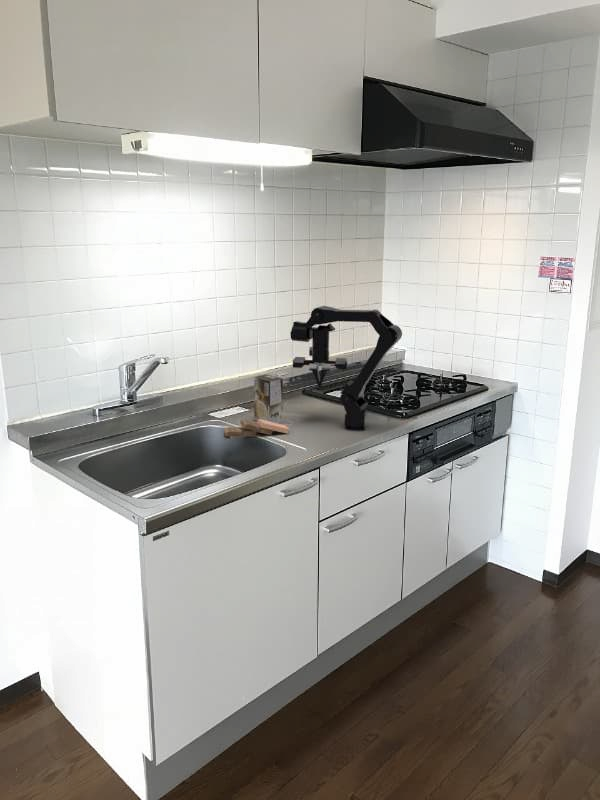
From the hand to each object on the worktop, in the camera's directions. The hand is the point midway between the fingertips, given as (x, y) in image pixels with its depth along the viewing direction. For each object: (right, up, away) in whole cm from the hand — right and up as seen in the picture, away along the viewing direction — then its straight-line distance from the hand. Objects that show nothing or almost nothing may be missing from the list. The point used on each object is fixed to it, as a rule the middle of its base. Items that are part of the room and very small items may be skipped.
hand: (319, 387), depth 231 cm
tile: (-11, -14, -8) cm, 20 cm away
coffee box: (-18, -12, +4) cm, 22 cm away
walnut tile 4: (-21, -16, -10) cm, 28 cm away
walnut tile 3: (-22, -15, -11) cm, 28 cm away
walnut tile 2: (-17, -15, -9) cm, 24 cm away
